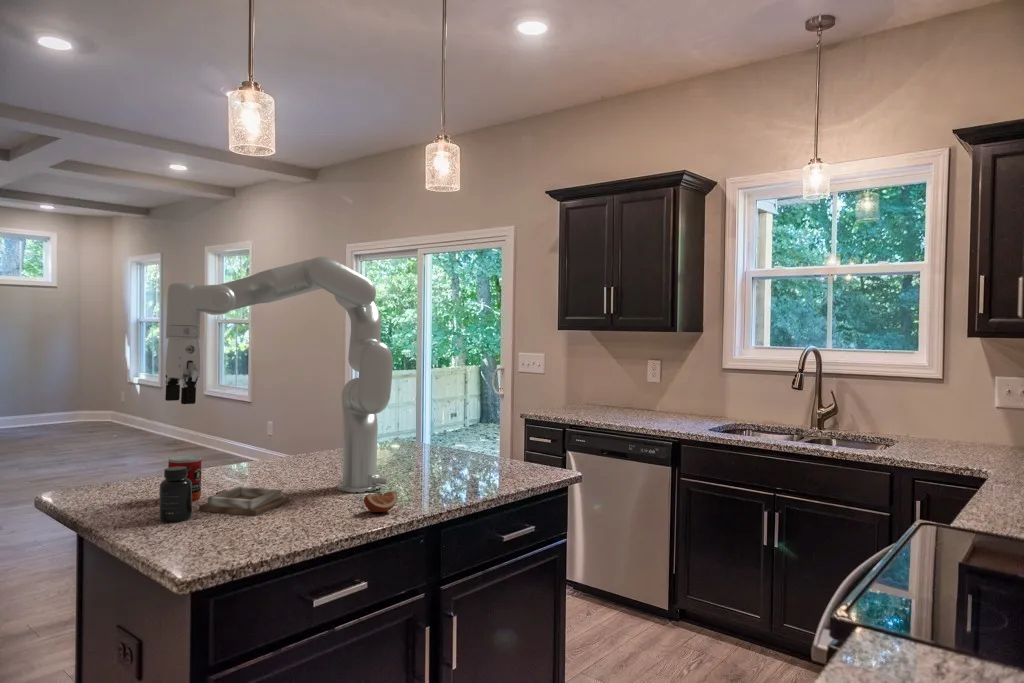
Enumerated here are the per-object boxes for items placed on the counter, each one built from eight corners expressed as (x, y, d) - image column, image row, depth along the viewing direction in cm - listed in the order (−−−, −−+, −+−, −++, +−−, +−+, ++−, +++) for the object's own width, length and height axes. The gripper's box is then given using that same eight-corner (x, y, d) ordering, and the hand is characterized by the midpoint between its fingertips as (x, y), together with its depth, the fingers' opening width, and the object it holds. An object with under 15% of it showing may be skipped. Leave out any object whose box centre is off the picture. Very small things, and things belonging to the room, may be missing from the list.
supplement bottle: (166, 515, 159) (167, 465, 159) (196, 515, 160) (197, 465, 160) (153, 523, 153) (154, 471, 152) (184, 523, 153) (185, 471, 153)
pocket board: (289, 502, 174) (289, 489, 174) (256, 515, 160) (256, 502, 160) (235, 497, 178) (235, 485, 178) (199, 510, 164) (199, 497, 164)
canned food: (188, 504, 170) (188, 461, 170) (160, 502, 172) (161, 459, 171) (207, 497, 177) (208, 456, 177) (181, 495, 179) (181, 454, 179)
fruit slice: (389, 507, 171) (390, 488, 171) (402, 513, 165) (403, 493, 165) (359, 512, 165) (360, 492, 165) (372, 518, 160) (372, 497, 160)
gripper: (213, 334, 162) (210, 404, 162) (184, 333, 174) (181, 398, 173) (181, 333, 156) (178, 405, 156) (153, 332, 168) (150, 399, 168)
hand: (180, 402), depth 165 cm, fingers open, 9 cm apart
